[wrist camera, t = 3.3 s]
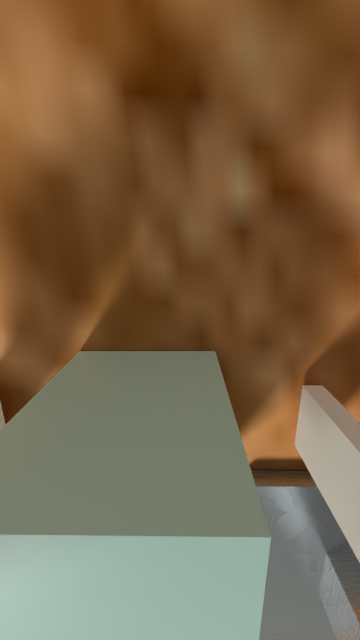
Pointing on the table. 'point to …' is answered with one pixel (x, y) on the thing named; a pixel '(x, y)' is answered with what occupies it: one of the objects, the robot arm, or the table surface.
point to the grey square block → (306, 563)
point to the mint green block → (130, 506)
